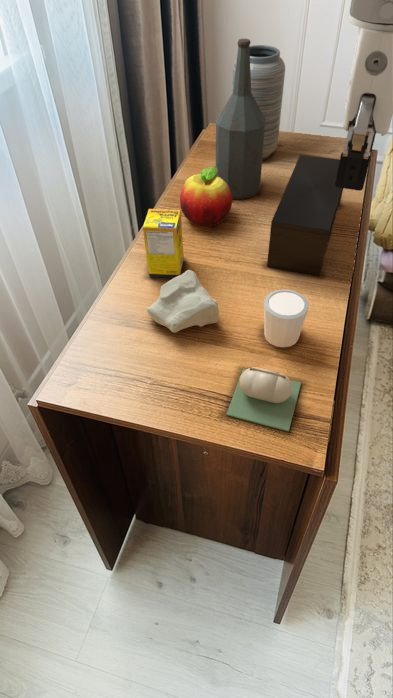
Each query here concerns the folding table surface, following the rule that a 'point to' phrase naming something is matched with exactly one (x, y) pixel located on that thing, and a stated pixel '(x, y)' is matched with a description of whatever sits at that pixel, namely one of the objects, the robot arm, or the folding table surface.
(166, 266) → the supplement box
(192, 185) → the fruit
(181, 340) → the folding table surface
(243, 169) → the bottle
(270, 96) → the vase
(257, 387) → the cream rounded oblong block
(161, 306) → the decorative stone
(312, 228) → the long dark rectangular box
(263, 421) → the mat
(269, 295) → the white cup
